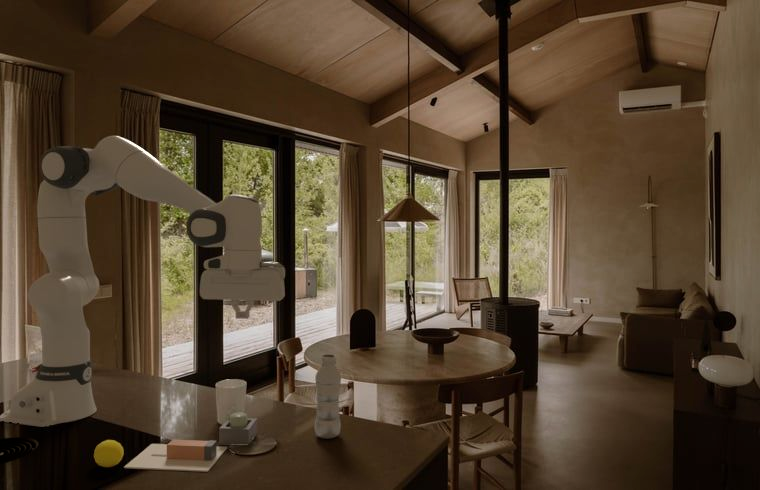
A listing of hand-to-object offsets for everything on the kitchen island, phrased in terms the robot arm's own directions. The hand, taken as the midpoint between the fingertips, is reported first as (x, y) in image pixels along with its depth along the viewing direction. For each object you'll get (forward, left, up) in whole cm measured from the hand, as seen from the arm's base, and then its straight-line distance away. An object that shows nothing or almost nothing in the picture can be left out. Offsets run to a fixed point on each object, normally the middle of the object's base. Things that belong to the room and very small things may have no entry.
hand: (242, 318), depth 128 cm
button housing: (0, -2, -29) cm, 29 cm away
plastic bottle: (+21, +2, -29) cm, 36 cm away
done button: (0, -2, -28) cm, 28 cm away
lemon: (-23, -18, -29) cm, 41 cm away
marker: (-7, -13, -29) cm, 32 cm away
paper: (-10, -13, -29) cm, 33 cm away
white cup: (-6, +10, -29) cm, 32 cm away
